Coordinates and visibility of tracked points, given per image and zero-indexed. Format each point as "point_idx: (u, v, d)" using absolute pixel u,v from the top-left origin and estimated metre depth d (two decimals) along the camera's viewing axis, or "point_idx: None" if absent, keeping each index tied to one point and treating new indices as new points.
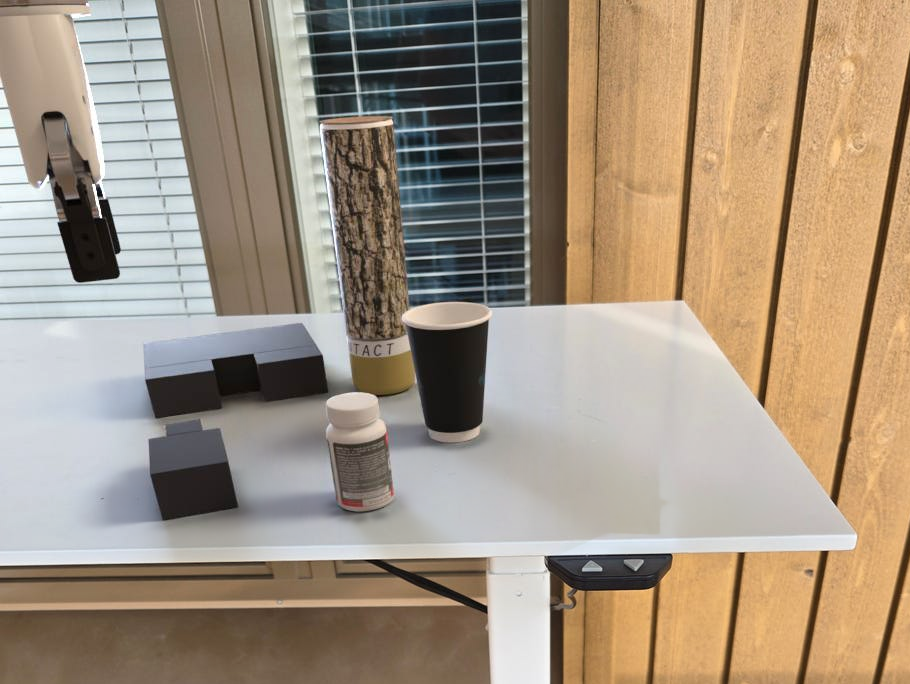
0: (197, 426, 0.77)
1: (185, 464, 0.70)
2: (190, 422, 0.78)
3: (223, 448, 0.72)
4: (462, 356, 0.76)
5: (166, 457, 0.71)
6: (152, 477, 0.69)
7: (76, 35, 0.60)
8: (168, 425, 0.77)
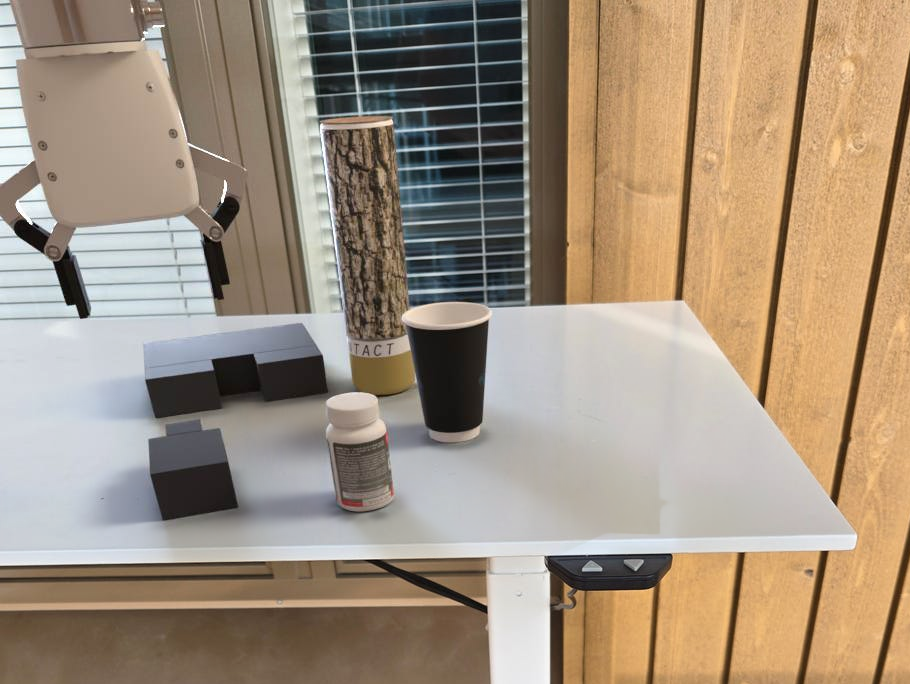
0: (197, 426, 0.77)
1: (185, 464, 0.70)
2: (190, 422, 0.78)
3: (223, 448, 0.72)
4: (462, 356, 0.76)
5: (166, 457, 0.71)
6: (152, 477, 0.69)
7: (85, 75, 0.56)
8: (168, 425, 0.77)
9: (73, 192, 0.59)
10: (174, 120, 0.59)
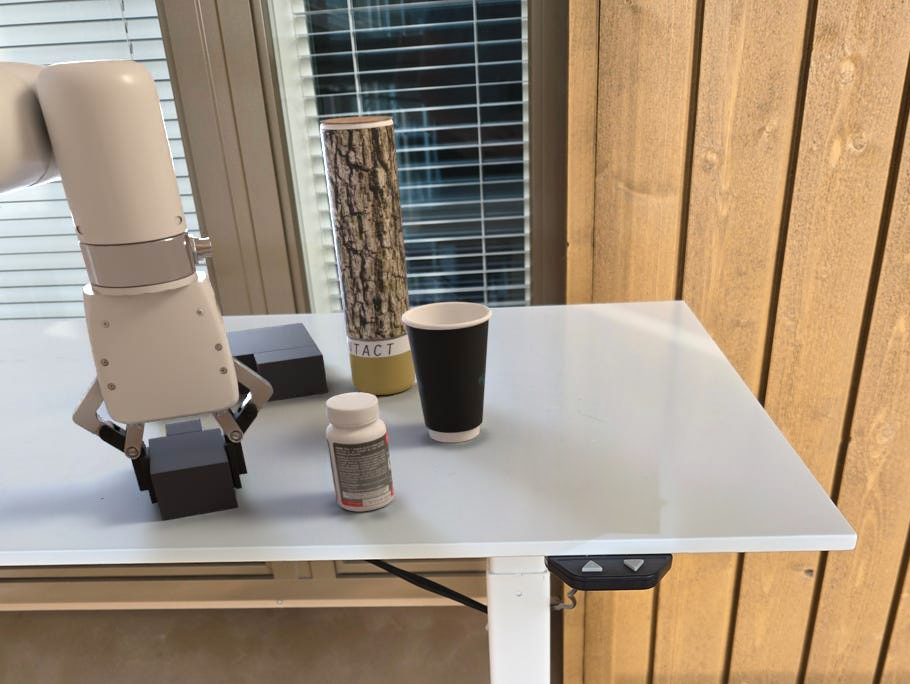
0: (197, 426, 0.77)
1: (185, 464, 0.70)
2: (190, 422, 0.78)
3: (223, 448, 0.72)
4: (462, 356, 0.76)
5: (167, 457, 0.71)
6: (152, 477, 0.69)
7: (144, 306, 0.64)
8: (168, 425, 0.77)
9: (129, 398, 0.67)
10: (219, 336, 0.67)
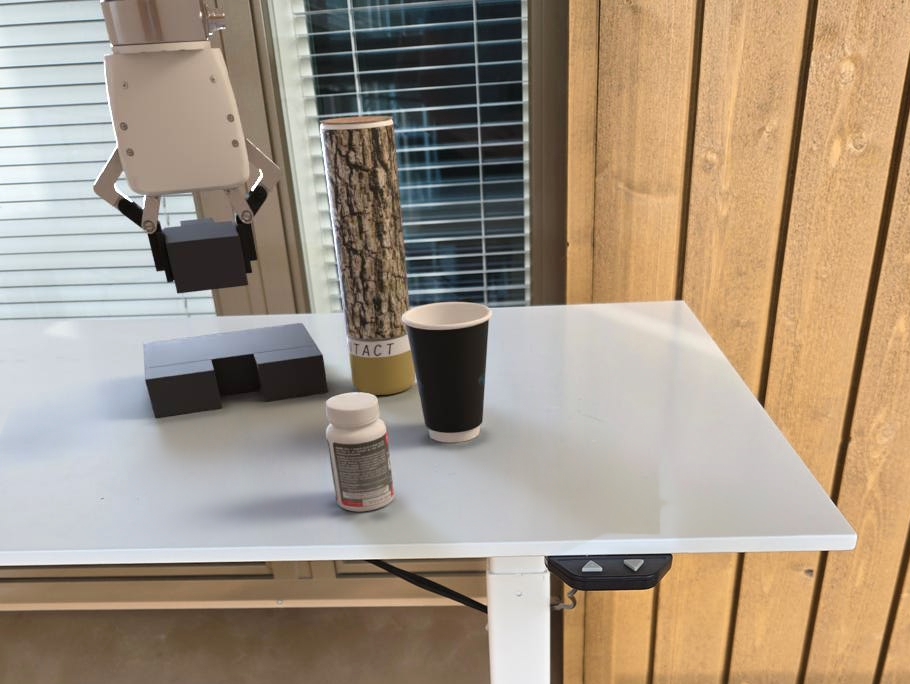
0: (210, 220, 0.81)
1: (198, 238, 0.74)
2: (203, 219, 0.82)
3: (234, 230, 0.77)
4: (462, 356, 0.76)
5: (181, 235, 0.76)
6: (167, 246, 0.73)
7: (161, 69, 0.68)
8: (183, 221, 0.82)
9: (146, 165, 0.71)
10: (231, 107, 0.71)
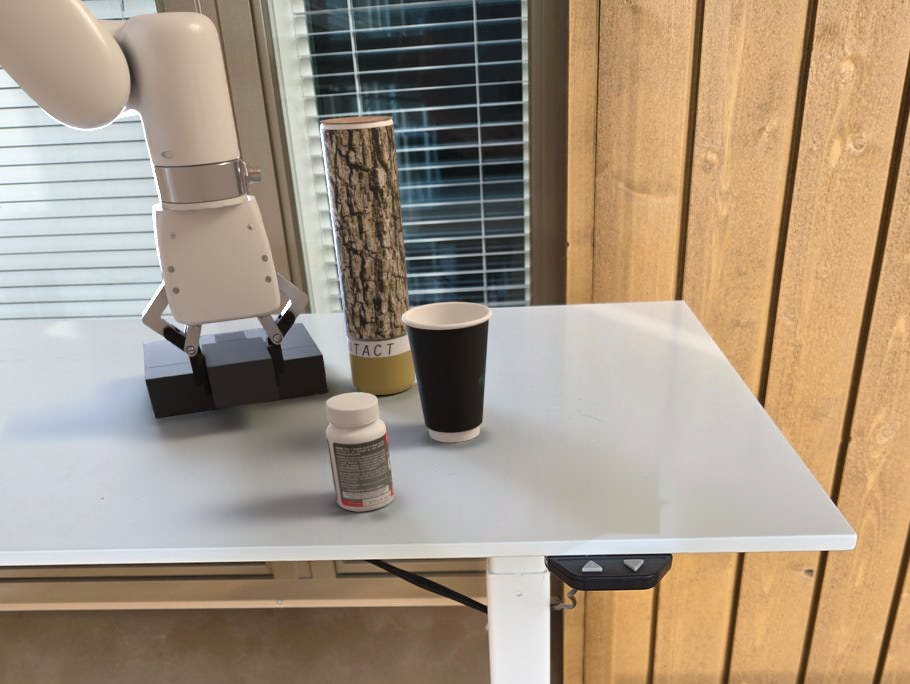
0: (241, 335, 0.90)
1: (235, 360, 0.83)
2: (235, 333, 0.91)
3: (266, 349, 0.85)
4: (462, 356, 0.76)
5: (219, 356, 0.85)
6: (208, 370, 0.82)
7: (205, 221, 0.77)
8: (217, 335, 0.91)
9: (190, 301, 0.80)
10: (266, 249, 0.80)
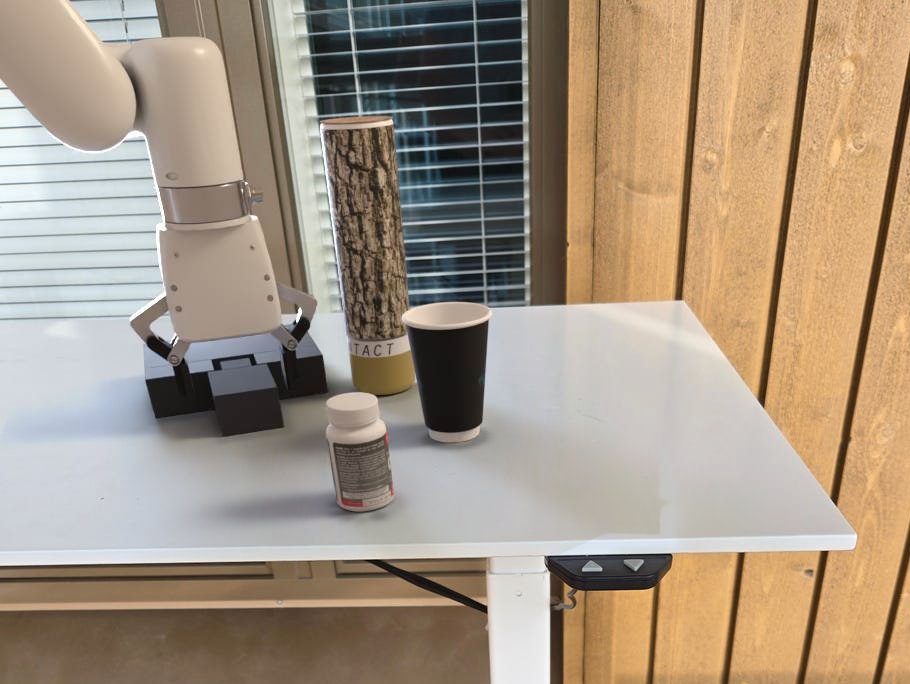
0: (247, 362, 0.92)
1: (241, 389, 0.85)
2: (241, 360, 0.92)
3: (271, 378, 0.87)
4: (462, 356, 0.76)
5: (225, 384, 0.86)
6: (215, 399, 0.84)
7: (208, 241, 0.78)
8: (223, 362, 0.92)
9: (192, 319, 0.81)
10: (268, 268, 0.81)
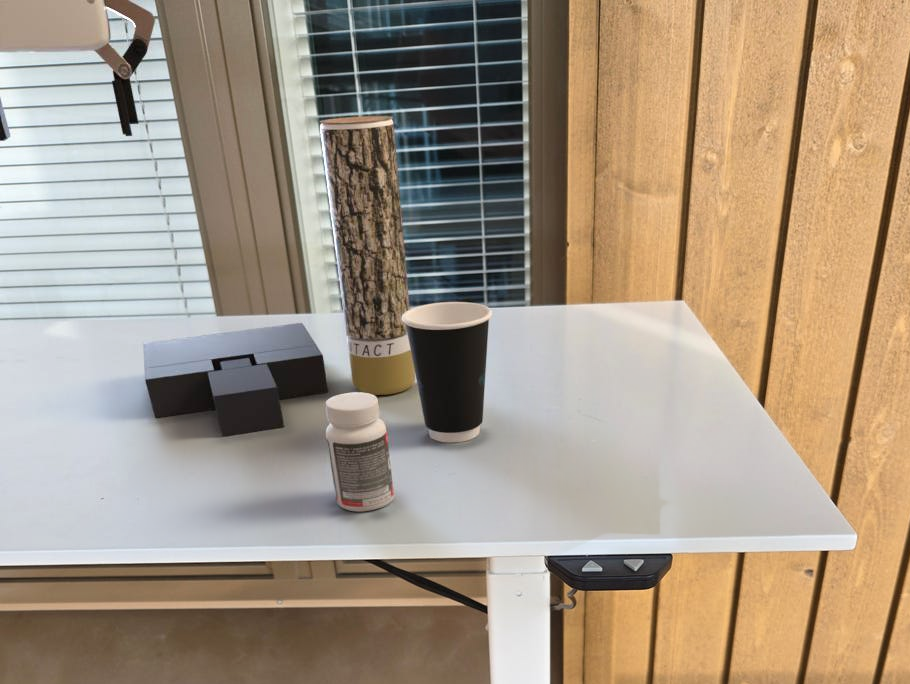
0: (247, 362, 0.92)
1: (241, 389, 0.85)
2: (241, 360, 0.92)
3: (271, 378, 0.87)
4: (462, 356, 0.76)
5: (225, 384, 0.86)
6: (215, 399, 0.84)
7: None
8: (223, 362, 0.92)
9: None
10: None
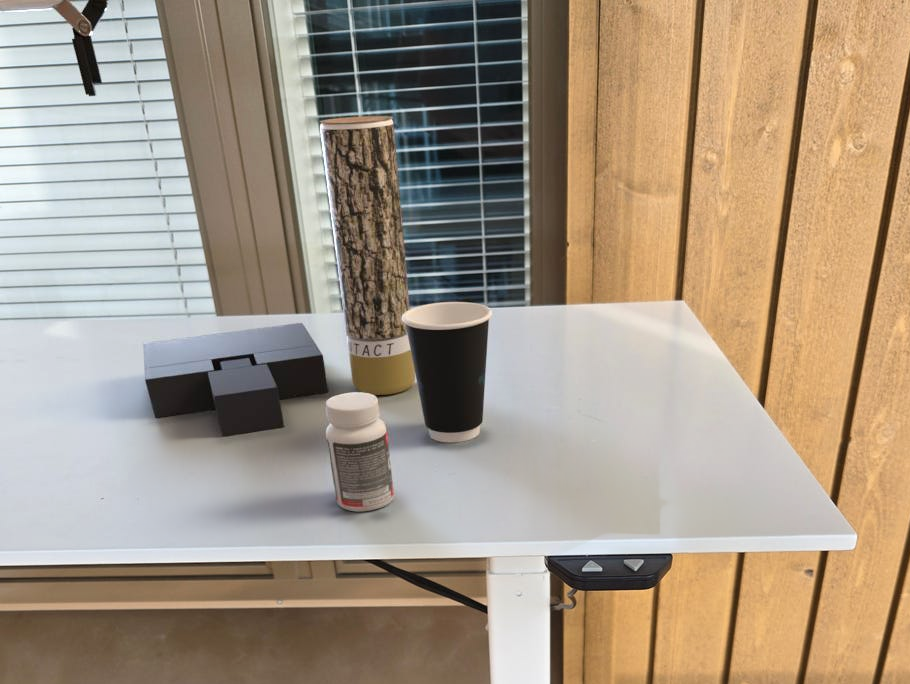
0: (247, 362, 0.92)
1: (241, 389, 0.85)
2: (241, 360, 0.92)
3: (271, 378, 0.87)
4: (462, 356, 0.76)
5: (225, 384, 0.86)
6: (215, 399, 0.84)
7: None
8: (223, 362, 0.92)
9: None
10: None
